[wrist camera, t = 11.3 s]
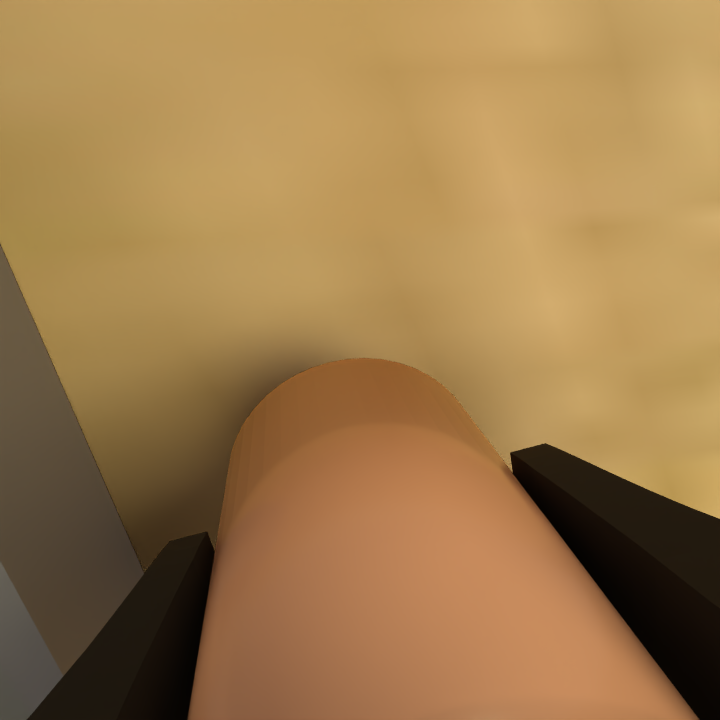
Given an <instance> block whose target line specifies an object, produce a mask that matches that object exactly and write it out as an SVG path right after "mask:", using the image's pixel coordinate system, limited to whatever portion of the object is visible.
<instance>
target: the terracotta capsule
mask: <svg viewBox="0 0 720 720" xmlns="http://www.w3.org/2000/svg"><path fill="white" fill-rule="evenodd" d="M187 720H699V718H698V717H697V716H696V714H695V713H694V712H693V710H692V709H691V708H690V706H689V705H688V704H687V702H686V701H685V700H684V698H683V697H682V696H681V694H680V693H679V692H678V691H677V689H676V688H675V687H674V685H673V684H672V683H671V681H670V680H669V679H668V677H667V676H666V675H665V673H664V672H663V671H662V669H661V668H660V667H659V665H658V664H657V663H656V661H655V660H654V659H653V658H652V656H651V655H650V654H649V652H648V651H647V650H646V648H645V647H644V646H643V644H642V643H641V642H640V640H639V639H638V638H637V636H636V635H635V634H634V632H633V631H632V630H631V628H630V627H629V626H628V625H627V623H626V622H625V621H624V619H623V618H622V617H621V615H620V614H619V613H618V611H617V610H616V609H615V607H614V606H613V605H612V603H611V602H610V601H609V599H608V598H607V597H606V596H605V594H604V593H603V592H602V590H601V589H600V588H599V586H598V585H597V584H596V582H595V581H594V580H593V578H592V577H591V576H590V574H589V573H588V572H587V570H586V569H585V568H584V566H583V565H582V564H581V563H580V561H579V560H578V559H577V557H576V556H575V555H574V553H573V552H572V551H571V549H570V548H569V547H568V545H567V544H566V543H565V541H564V540H563V539H562V537H561V536H560V535H559V534H558V532H557V531H556V530H555V528H554V527H553V526H552V524H551V523H550V522H549V520H548V519H547V518H546V516H545V515H544V514H543V512H542V511H541V510H540V508H539V507H538V506H537V504H536V503H535V502H534V501H533V499H532V498H531V497H530V495H529V494H528V493H527V491H526V490H525V489H524V487H523V486H522V485H521V483H520V482H519V481H518V479H517V478H516V477H515V475H514V474H513V473H512V471H511V470H510V469H509V468H508V466H507V465H506V464H505V462H504V461H503V460H502V458H501V457H500V456H499V454H498V453H497V452H496V450H495V449H494V448H493V446H492V445H491V444H490V442H489V441H488V440H487V438H486V437H485V436H484V435H483V433H482V432H481V431H480V429H479V428H478V427H477V425H476V424H475V423H474V421H473V420H472V419H471V417H470V416H469V415H468V413H467V412H466V411H465V409H464V408H463V407H462V406H461V404H460V403H459V402H458V401H457V399H456V398H455V397H454V396H453V394H451V393H450V392H449V391H448V390H447V389H446V388H445V387H444V386H443V385H442V384H440V383H439V382H438V381H436V380H435V379H433V378H432V377H430V376H429V375H427V374H425V373H423V372H421V371H419V370H417V369H415V368H412V367H409V366H407V365H404V364H401V363H397V362H392V361H387V360H382V359H369V358H358V359H345V360H339V361H334V362H328V363H325V364H322V365H319V366H316V367H312V368H310V369H308V370H306V371H303V372H301V373H299V374H297V375H295V376H293V377H292V378H290V379H288V380H287V381H285V382H283V383H282V384H280V385H279V386H278V387H276V388H275V389H274V390H273V391H271V392H270V393H269V394H268V395H266V397H265V398H264V399H263V400H262V401H261V402H260V403H259V404H258V405H257V406H256V407H255V408H254V409H253V411H252V412H251V414H250V415H249V416H248V418H247V419H246V420H245V422H244V424H243V426H242V428H241V429H240V431H239V433H238V435H237V438H236V440H235V443H234V446H233V449H232V452H231V457H230V462H229V467H228V473H227V479H226V485H225V491H224V497H223V504H222V510H221V516H220V522H219V528H218V534H217V540H216V546H215V553H214V559H213V565H212V571H211V577H210V583H209V589H208V596H207V602H206V608H205V614H204V620H203V626H202V632H201V639H200V645H199V651H198V657H197V663H196V669H195V675H194V681H193V688H192V694H191V700H190V706H189V712H188V718H187Z"/></svg>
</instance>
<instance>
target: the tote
mask: <svg viewBox="0 0 720 720" xmlns="http://www.w3.org/2000/svg"><path fill="white" fill-rule="evenodd" d="M143 575H144V572H143V570H142V567H141V565H140V563H139V561H138V558H137V556H136V554H135V551H134V549H133V547H132V545H131V542H130V540H129V538H128V535H127V533H126V531H125V529H124V526H123V524H122V522H121V519H120V517H119V515H118V513H117V510H116V508H115V506H114V503H113V501H112V499H111V497H110V494H109V492H108V490H107V487H106V485H105V483H104V481H103V478H102V476H101V474H100V471H99V469H98V467H97V465H96V462H95V460H94V458H93V455H92V453H91V451H90V449H89V446H88V444H87V442H86V439H85V437H84V435H83V433H82V430H81V428H80V426H79V423H78V421H77V419H76V417H75V414H74V412H73V410H72V407H71V405H70V403H69V401H68V398H67V396H66V394H65V391H64V389H63V387H62V385H61V382H60V380H59V378H58V375H57V373H56V371H55V369H54V366H53V364H52V362H51V359H50V357H49V355H48V353H47V350H46V348H45V346H44V343H43V341H42V339H41V337H40V334H39V332H38V330H37V327H36V325H35V323H34V321H33V318H32V316H31V314H30V311H29V309H28V307H27V305H26V302H25V300H24V298H23V295H22V293H21V291H20V289H19V286H18V284H17V282H16V279H15V277H14V275H13V273H12V270H11V268H10V266H9V263H8V261H7V259H6V257H5V254H4V252H3V250H2V247H1V245H0V720H27V719H28V717H29V716H30V715H31V714H32V713H33V712H34V711H35V709H36V708H37V707H38V706H39V705H40V703H41V702H42V701H43V700H44V699H45V697H46V696H47V695H48V694H49V693H50V691H51V690H52V689H53V688H54V687H55V686H56V684H57V683H58V682H59V681H60V680H61V678H62V677H63V676H64V675H65V674H66V672H67V671H68V670H69V669H70V668H71V666H72V665H73V664H74V663H75V662H76V660H77V659H78V658H79V657H80V656H81V655H82V653H83V652H84V651H85V650H86V649H87V647H88V646H89V645H90V644H91V642H92V641H93V640H94V638H95V637H96V636H97V635H98V633H99V632H100V631H101V629H102V628H103V627H104V626H105V624H106V623H107V622H108V620H109V619H110V618H111V616H112V615H113V614H114V613H115V611H116V610H117V609H118V607H119V606H120V605H121V604H122V602H123V601H124V600H125V598H126V597H127V596H128V594H129V593H130V592H131V590H132V589H133V588H134V586H135V585H136V584H137V583H138V581H139V580H140V579H141V577H142V576H143Z"/></svg>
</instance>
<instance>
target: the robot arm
mask: <svg viewBox="0 0 720 720" xmlns="http://www.w3.org/2000/svg"><path fill="white" fill-rule="evenodd" d="M510 455H511V463H512V470H513V474H514V475H515V477H516V478H517V479H518V481H519V482H520V483H521V485H522V486H523V487H524V489H525V490H526V491H527V493H528V494H529V495H530V497H531V498H532V499H533V501H534V502H535V503H536V504H537V506H538V507H539V508H540V510H541V511H542V512H543V514H544V515H545V516H546V518H547V519H548V520H549V522H550V523H551V524H552V526H553V527H554V528H555V530H556V531H557V532H558V534H559V535H560V536H561V537H562V539H563V540H564V541H565V543H566V544H567V545H568V547H569V548H570V549H571V551H572V552H573V553H574V555H575V556H576V557H577V559H578V560H579V561H580V563H581V564H582V565H583V566H584V568H585V569H586V570H587V572H588V573H589V574H590V576H591V577H592V578H593V580H594V581H595V582H596V584H597V585H598V586H599V588H600V589H601V590H602V592H603V593H604V594H605V596H606V597H607V598H608V599H609V601H610V602H611V603H612V605H613V606H614V607H615V609H616V610H617V611H618V613H619V614H620V615H621V617H622V618H623V619H624V621H625V622H626V623H627V625H628V626H629V627H630V628H631V630H632V631H633V632H634V634H635V635H636V636H637V638H638V639H639V640H640V642H641V643H642V644H643V646H644V647H645V648H646V650H647V651H648V652H649V654H650V655H651V656H652V658H653V659H654V660H655V661H656V663H657V664H658V665H659V667H660V668H661V669H662V671H663V672H664V673H665V675H666V676H667V677H668V679H669V680H670V681H671V683H672V684H673V685H674V687H675V688H676V689H677V691H678V692H679V693H680V694H681V696H682V697H683V698H684V700H685V701H686V702H687V704H688V705H689V706H690V708H691V709H692V710H693V712H694V713H695V714H696V716H697V717H698V718H699V720H720V519H718V518H716V517H713V516H710V515H708V514H705V513H703V512H700V511H697V510H695V509H692V508H690V507H688V506H685V505H683V504H680V503H678V502H675V501H673V500H671V499H668V498H666V497H664V496H661V495H659V494H657V493H654V492H652V491H650V490H647V489H645V488H643V487H641V486H638V485H636V484H634V483H632V482H630V481H627V480H625V479H623V478H621V477H619V476H616V475H614V474H612V473H610V472H608V471H606V470H603V469H601V468H599V467H597V466H595V465H593V464H591V463H588V462H586V461H584V460H582V459H580V458H578V457H575V456H573V455H571V454H569V453H567V452H565V451H562V450H560V449H558V448H556V447H553V446H551V445H548V444H546V443H545V444H541V445H537V446H533V447H530V448H526V449H522V450H518V451H514V452H510ZM214 553H215V551H214V549H213V546H212V543H211V541H210V538H209V535H208V532H203V533H199V534H196V535H192V536H188V537H184V538H180V539H176V540H173V541H170V542H169V543H168V544H167V545H166V546H165V548H164V549H163V550H162V551H161V552H160V554H159V555H158V556H157V558H156V559H155V560H154V561H153V563H152V564H151V565H150V567H149V568H148V569H147V571H146V572H145V573H144V575H143V576H142V577H141V579H140V580H139V581H138V583H137V584H136V585H135V586H134V588H133V589H132V590H131V592H130V593H129V594H128V596H127V597H126V598H125V600H124V601H123V602H122V604H121V605H120V606H119V607H118V609H117V610H116V611H115V613H114V614H113V615H112V616H111V618H110V619H109V620H108V622H107V623H106V624H105V626H104V627H103V628H102V629H101V631H100V632H99V633H98V635H97V636H96V637H95V638H94V640H93V641H92V642H91V644H90V645H89V646H88V647H87V649H86V650H85V651H84V652H83V653H82V655H81V656H80V657H79V658H78V659H77V660H76V662H75V663H74V664H73V665H72V666H71V668H70V669H69V670H68V671H67V672H66V674H65V675H64V676H63V677H62V678H61V680H60V681H59V682H58V683H57V684H56V686H55V687H54V688H53V689H52V690H51V691H50V693H49V694H48V695H47V696H46V697H45V699H44V700H43V701H42V702H41V703H40V705H39V706H38V707H37V708H36V709H35V711H34V712H33V713H32V714H31V715H30V716H29V717H28V719H27V720H187V718H188V712H189V706H190V700H191V694H192V688H193V681H194V675H195V669H196V663H197V657H198V651H199V645H200V639H201V632H202V626H203V620H204V614H205V608H206V602H207V596H208V589H209V583H210V577H211V571H212V565H213V559H214Z"/></svg>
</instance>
